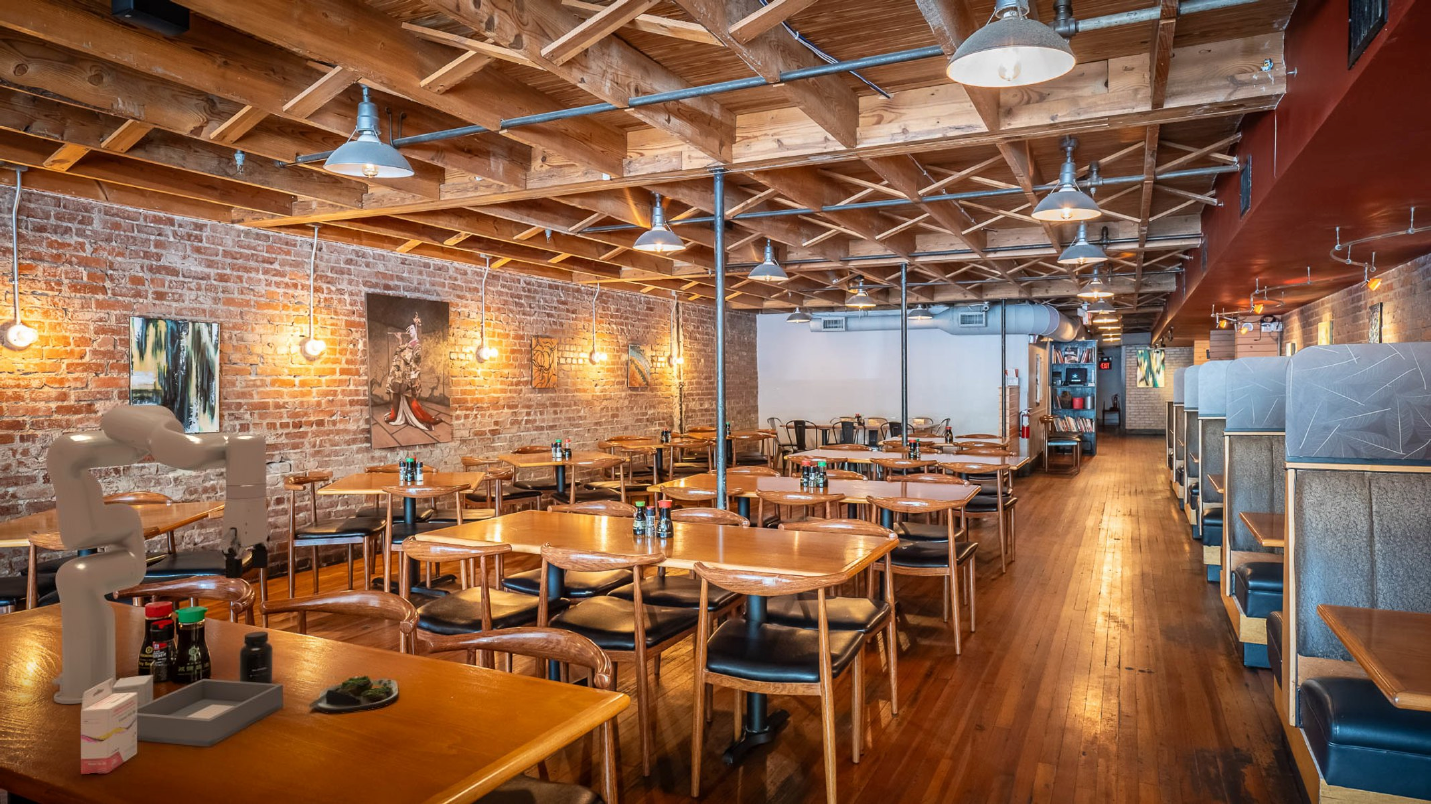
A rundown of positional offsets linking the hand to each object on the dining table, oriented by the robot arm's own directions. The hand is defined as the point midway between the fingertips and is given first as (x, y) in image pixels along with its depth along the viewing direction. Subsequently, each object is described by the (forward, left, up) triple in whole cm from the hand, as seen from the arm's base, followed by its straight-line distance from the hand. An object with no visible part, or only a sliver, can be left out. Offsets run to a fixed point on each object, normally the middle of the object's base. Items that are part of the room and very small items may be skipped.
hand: (247, 572), depth 172 cm
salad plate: (+18, +11, -31) cm, 37 cm away
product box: (-24, -5, -30) cm, 39 cm away
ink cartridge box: (-8, -25, -30) cm, 40 cm away
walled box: (-5, -6, -30) cm, 31 cm away
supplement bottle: (-11, +15, -30) cm, 36 cm away
